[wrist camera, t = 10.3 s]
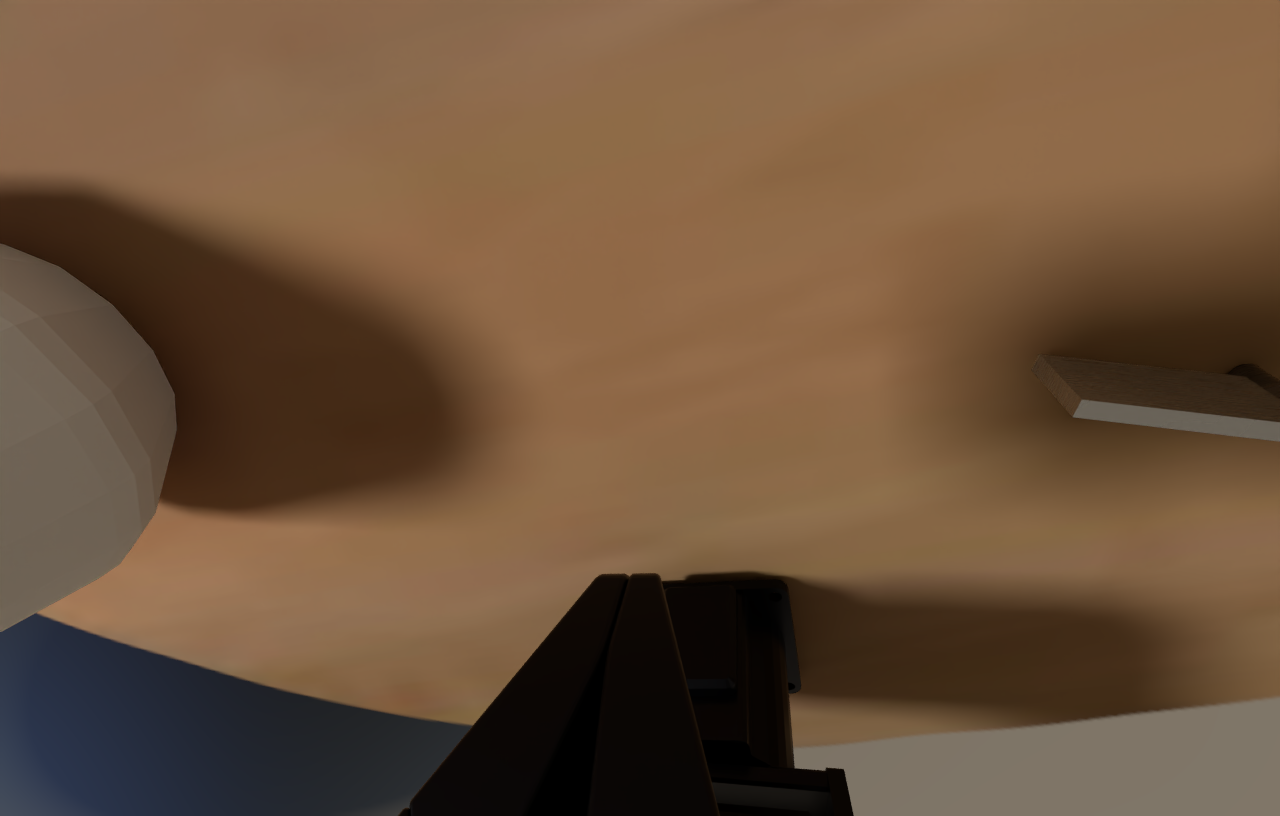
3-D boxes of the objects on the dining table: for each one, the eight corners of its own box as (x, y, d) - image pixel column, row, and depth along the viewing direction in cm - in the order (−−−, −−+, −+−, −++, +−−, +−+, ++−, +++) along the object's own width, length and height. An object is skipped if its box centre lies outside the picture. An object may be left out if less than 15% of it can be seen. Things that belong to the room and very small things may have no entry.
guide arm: (1267, 365, 16) (1367, 428, 13) (1249, 391, 16) (1342, 457, 14) (1033, 340, 16) (1087, 396, 14) (1021, 366, 17) (1071, 424, 14)
